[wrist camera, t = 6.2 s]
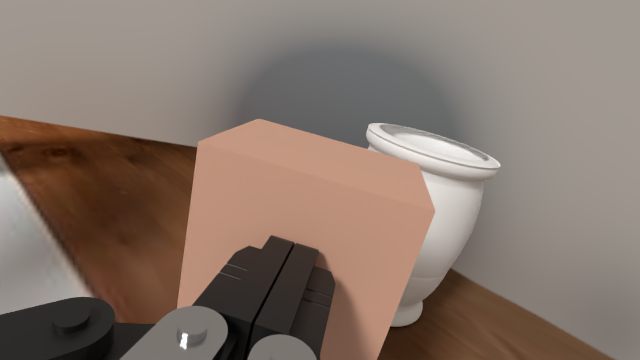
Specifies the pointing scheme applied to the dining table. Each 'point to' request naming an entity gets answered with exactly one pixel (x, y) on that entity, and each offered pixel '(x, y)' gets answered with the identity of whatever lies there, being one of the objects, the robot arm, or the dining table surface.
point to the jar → (436, 203)
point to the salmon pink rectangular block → (311, 221)
